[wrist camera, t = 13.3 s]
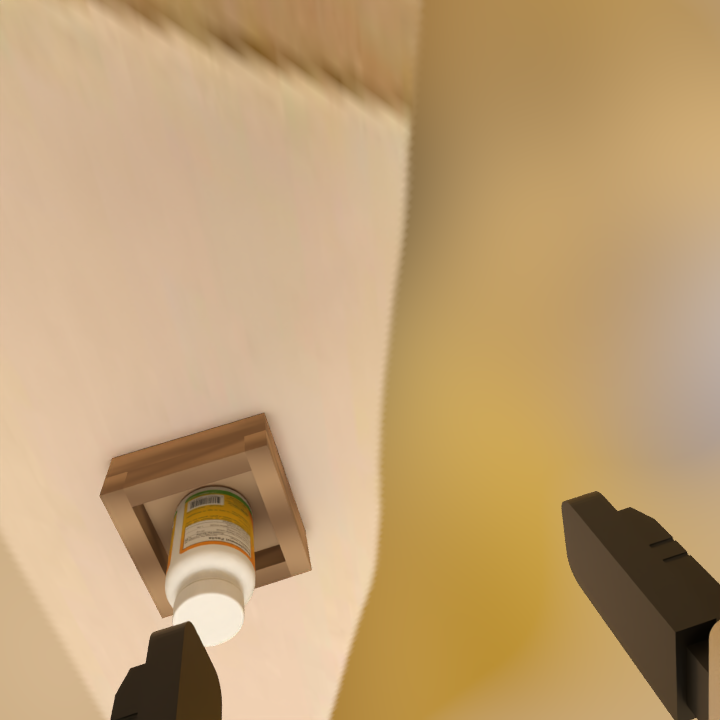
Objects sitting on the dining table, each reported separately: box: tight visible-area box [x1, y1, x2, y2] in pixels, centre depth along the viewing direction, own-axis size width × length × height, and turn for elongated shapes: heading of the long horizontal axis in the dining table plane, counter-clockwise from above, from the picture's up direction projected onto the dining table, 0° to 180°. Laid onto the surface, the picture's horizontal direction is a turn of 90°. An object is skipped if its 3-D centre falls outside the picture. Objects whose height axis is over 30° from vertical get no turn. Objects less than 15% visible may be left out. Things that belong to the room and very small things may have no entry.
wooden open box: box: [100, 413, 312, 618], centre depth 44 cm, size 11×11×4 cm
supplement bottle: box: [165, 487, 255, 647], centre depth 39 cm, size 5×5×10 cm
